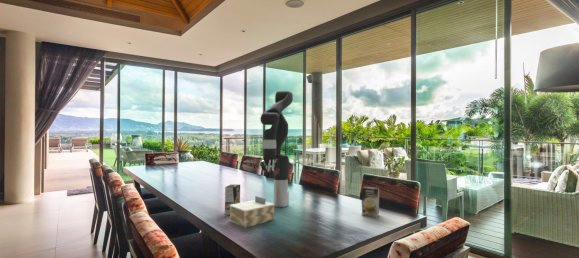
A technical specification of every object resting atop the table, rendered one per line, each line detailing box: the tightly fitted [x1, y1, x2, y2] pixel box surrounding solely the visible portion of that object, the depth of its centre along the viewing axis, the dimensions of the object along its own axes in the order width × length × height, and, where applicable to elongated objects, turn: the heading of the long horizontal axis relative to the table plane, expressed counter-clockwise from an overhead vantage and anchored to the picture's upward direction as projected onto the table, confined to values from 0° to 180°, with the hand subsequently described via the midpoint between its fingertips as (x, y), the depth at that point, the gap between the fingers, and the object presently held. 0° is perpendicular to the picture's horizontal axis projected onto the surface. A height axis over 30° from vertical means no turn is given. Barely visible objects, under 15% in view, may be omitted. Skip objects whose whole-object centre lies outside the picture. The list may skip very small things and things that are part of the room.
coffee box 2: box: [361, 185, 380, 218], centre depth 173 cm, size 9×6×16 cm
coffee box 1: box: [224, 184, 241, 215], centre depth 175 cm, size 9×6×16 cm
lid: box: [229, 195, 275, 212], centre depth 161 cm, size 20×15×4 cm
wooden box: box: [229, 205, 275, 228], centre depth 161 cm, size 19×14×8 cm
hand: (269, 177), depth 169 cm, fingers closed
